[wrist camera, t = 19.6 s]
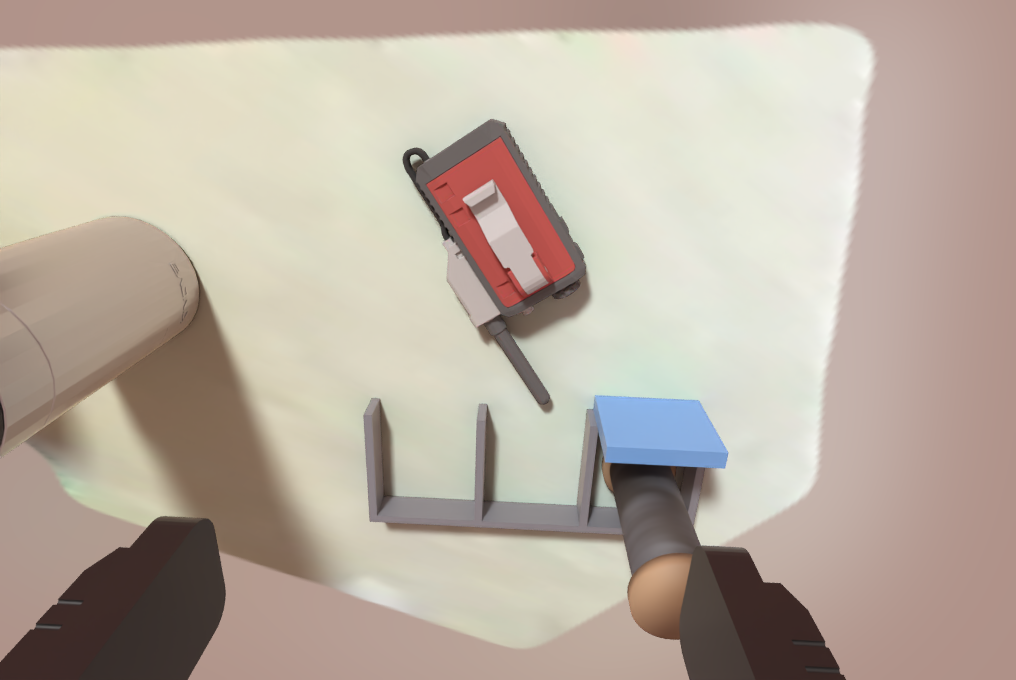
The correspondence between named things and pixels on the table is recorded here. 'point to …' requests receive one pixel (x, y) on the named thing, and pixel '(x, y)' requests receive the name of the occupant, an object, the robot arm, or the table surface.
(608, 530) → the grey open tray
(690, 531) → the cord spool
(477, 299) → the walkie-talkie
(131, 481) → the table surface
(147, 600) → the robot arm
